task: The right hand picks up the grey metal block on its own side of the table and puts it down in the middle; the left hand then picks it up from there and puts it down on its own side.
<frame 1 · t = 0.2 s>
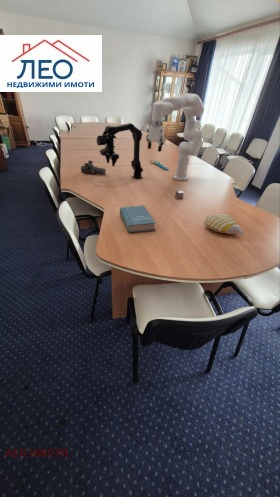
left hand: (110, 164, 182), 14 cm above the table, tool pointing down, fingers open, 9 cm apart
right hand: (154, 150, 162), 31 cm above the table, tool pointing down, fingers open, 9 cm apart
grey metal block: (178, 197, 172), on the table
book: (136, 222, 137), on the table
laser sight: (93, 173, 205), on the table
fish: (222, 230, 136), on the table
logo: (160, 165, 240), on the table
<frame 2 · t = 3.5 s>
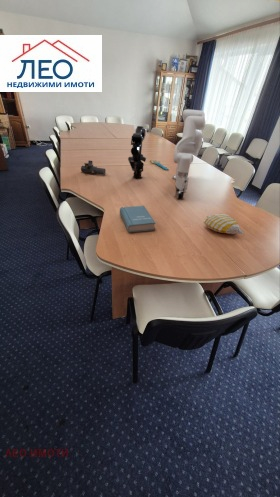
left hand: (135, 172, 182), 11 cm above the table, tool pointing down, fingers open, 9 cm apart
right hand: (178, 197, 171), 1 cm above the table, tool pointing down, fingers closed on grey metal block, 4 cm apart
grey metal block: (178, 197, 172), on the table, touching right hand
everything else where it was.
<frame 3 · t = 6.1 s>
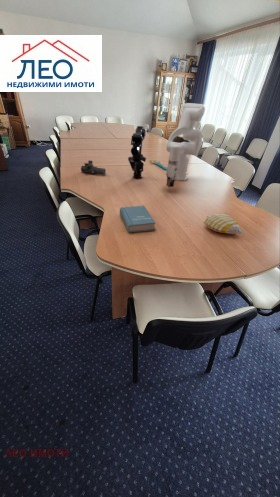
left hand: (135, 172, 182), 11 cm above the table, tool pointing down, fingers open, 9 cm apart
right hand: (170, 185, 179), 5 cm above the table, tool pointing down, fingers closed on grey metal block, 4 cm apart
grey metal block: (169, 186, 179), point 4 cm above the table, touching right hand
everything else where it was.
when the right hand's fingers open (1 cm above the table, at t = 8.6 s): grey metal block stays where it is, on the table.
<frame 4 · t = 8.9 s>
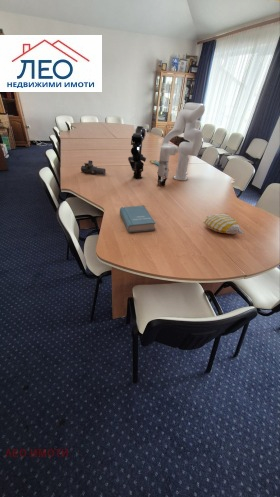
left hand: (135, 172, 182), 11 cm above the table, tool pointing down, fingers open, 9 cm apart
right hand: (161, 183, 189), 2 cm above the table, tool pointing down, fingers open, 6 cm apart
grey metal block: (161, 185, 190), on the table
everything else where it was.
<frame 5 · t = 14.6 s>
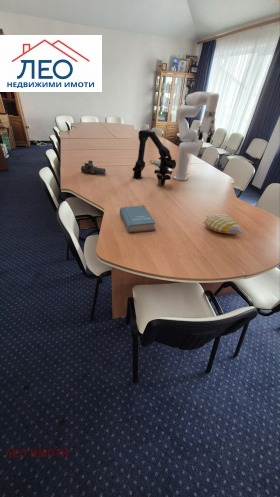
left hand: (161, 184, 189), 1 cm above the table, tool pointing down, fingers closed on grey metal block, 4 cm apart
right hand: (203, 141, 164), 38 cm above the table, tool pointing down, fingers open, 9 cm apart
grey metal block: (161, 185, 190), on the table, touching left hand
everything else where it was.
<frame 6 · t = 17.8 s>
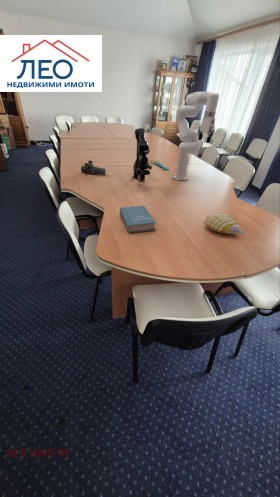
left hand: (141, 180, 182), 6 cm above the table, tool pointing down, fingers closed on grey metal block, 4 cm apart
right hand: (203, 141, 164), 38 cm above the table, tool pointing down, fingers open, 9 cm apart
grey metal block: (141, 181, 182), point 5 cm above the table, touching left hand
everything else where it was.
when the left hand's fingers open (2 cm above the table, at t = 21.0 s): grey metal block stays where it is, on the table.
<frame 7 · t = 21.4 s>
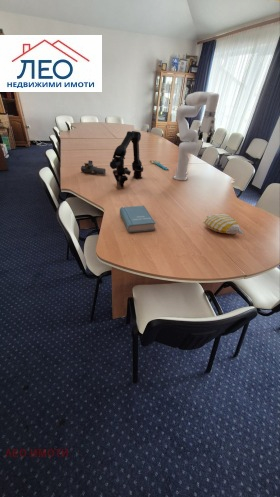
left hand: (120, 185, 179), 2 cm above the table, tool pointing down, fingers open, 9 cm apart
right hand: (203, 141, 164), 38 cm above the table, tool pointing down, fingers open, 9 cm apart
grey metal block: (120, 188, 180), on the table
everything else where it was.
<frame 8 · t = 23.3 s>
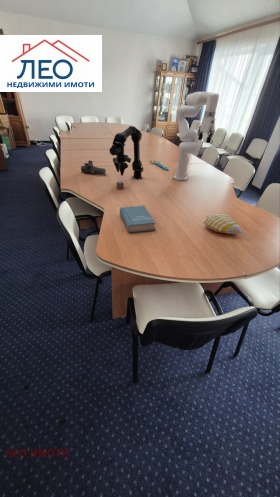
left hand: (120, 173, 173), 12 cm above the table, tool pointing down, fingers open, 9 cm apart
right hand: (203, 141, 164), 38 cm above the table, tool pointing down, fingers open, 9 cm apart
nothing on the table moved.
at the end: grey metal block inside the target area (0.1 cm from its centre), on the table; grey metal block tilted 0°; the two hands never held the grey metal block at the same time; the left hand is holding nothing; the right hand is holding nothing; grey metal block at rest at the end (0.0 cm/s) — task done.
